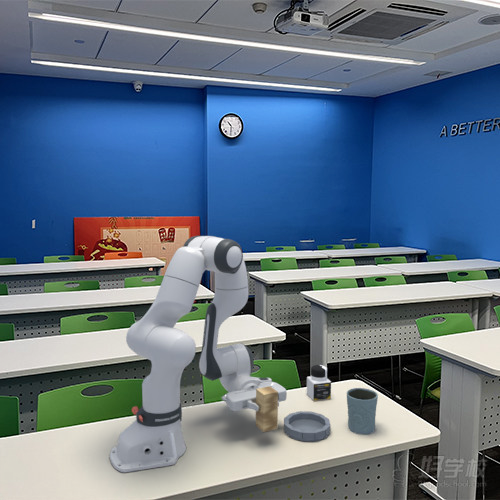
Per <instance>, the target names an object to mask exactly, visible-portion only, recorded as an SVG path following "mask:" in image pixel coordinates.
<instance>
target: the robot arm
mask: <svg viewBox="0 0 500 500" xmlns="http://www.w3.org/2000/svg"><path fill="white" fill-rule="evenodd" d="M243 255H244V254H243V249H242V247H241V245H240V244H239V243H238V242H237V241H235V240H233V239H231V238H223V237H217V236H214V235H194V236H191V237H189V238H188V239H187V240H186V241H185V242H184V244H183V245H182V246H181V247H179V248H178V249H177V250H175V253H173V256H172V257H171V259H170V261H169V263H168V265H167V267H166V270H165V273H164V276H163V279H162V280H161V283H160V286H159V289H158V292H157V294H156V297H155V299H154V301H153V303H152V304H151V306H150V307H149V309H148V310H147V311H146V313H145V314H144V315H143V316H142V317H141V319H139V320H138V321H136V322H135V323H133V324H131V326H130V327H129V328H128V330H127V333H126V336H125V337H126V339H125V340H126V341H125V342H126V344H127V347H128V348H129V349H130V350H131V351H132V352H133V353H135V354H136V355H138V356H139V357H141V358H144V359H147V360H149V361H150V362H151V369H150V374H148V375H147V376H146V377H144V379H143V381H142V384H141V389H142V390H141V391H142V396H141V397H142V405H141V407H140V408H139V407H138V406H137V405H135V406H132V408H131V412H132V413H133V415H135V416H136V417H135V420H134V421H133V422H132V423H131V424H129V425H128V426H127V427H126V428H125V429H123V431H121V433H120V434H119V437H118V440H117V445H116V446H114V447H112V448H111V449H110V452H109V461H110V464H111V465H112V466H113V467H114V469H115V470H116V471H119V472H121V473H129V472H136V471H137V472H138V471H143V470H148V469H155V468H161V467H168V466H173V465H175V464H176V463H177V461H178V459H179V458H180V457H182V455H184V453H186V451H187V445H186V442H185V438H184V434H183V430H182V429H183V428H182V417H183V409H182V403H181V399H180V398H181V379H182V374H183V372H184V369H185V368H186V367H187V366H189V365H190V363H192V361H193V360H194V358H195V355H196V351H197V345H196V342H195V340H194V338H193V337H192V336H190V335H189V334H187V333H186V332H184V331H183V330H181V329H179V328H175V326H176V324H177V323H178V321H179V320H180V319H181V318H182V317H184V316H186V315H188V314H189V313H190V312H191V310H192V308H193V305H194V302H195V300H196V297H197V294H198V291H199V288H200V284H201V281H202V277H203V274H204V273H205V271H209V272H214V274H215V275H214V276H215V277H214V279H215V280H214V281H215V293H214V297H213V300H212V302H211V303H210V304H209V305H207V308H206V313H205V319H204V325H203V326H204V327H203V337H202V346H201V352H200V354H199V355H200V356H199V360H198V361H199V362H198V365H199V366H198V367H199V371H200V374H201V375H202V376H203V377H204V378H206V379H207V380H210V381H216V380H219V381H220V384H221V385H222V387H223V388H224V389H225V390H226V391H227V393H225V394H224V395H222V396H221V400H222V401H223V402H225V403H226V406H227V407H228V409H229V410H230V411H232V412H239V411H243V410H252V411H253V410H254V411H255V412H256V411H261V405H259V403H258V404H256V389H259V388H264V387H269V386H270V387H272V388H273V389H275V390H276V391H277V392H278V408H279V407H280V402H285V401H286V400H287V389H286V388H285V387H284V386H282V385H281V384H279V383H278V382H275V381H273V380H272V378H270V377H257V376H256V377H255V376H251V375H252V373H253V369H254V356H253V355H254V354H253V353H252V351H251V349H250V348H249V347H248V346H247V345H246V344H244V343H241V342H240V343H236V344H230V345H227V346H222V347H219V348H218V340H219V331H220V328H221V326H222V324H223V323H224V322H225V321H226V320H228V319H229V318H230V317H232V316H233V315H235V314H237V313H238V312H240V311H241V310H242V309H243V308H244V307H245V306H246V304H247V303H248V299H249V279H248V272H247V267H246V262H245V259H244V256H243Z"/></svg>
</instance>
